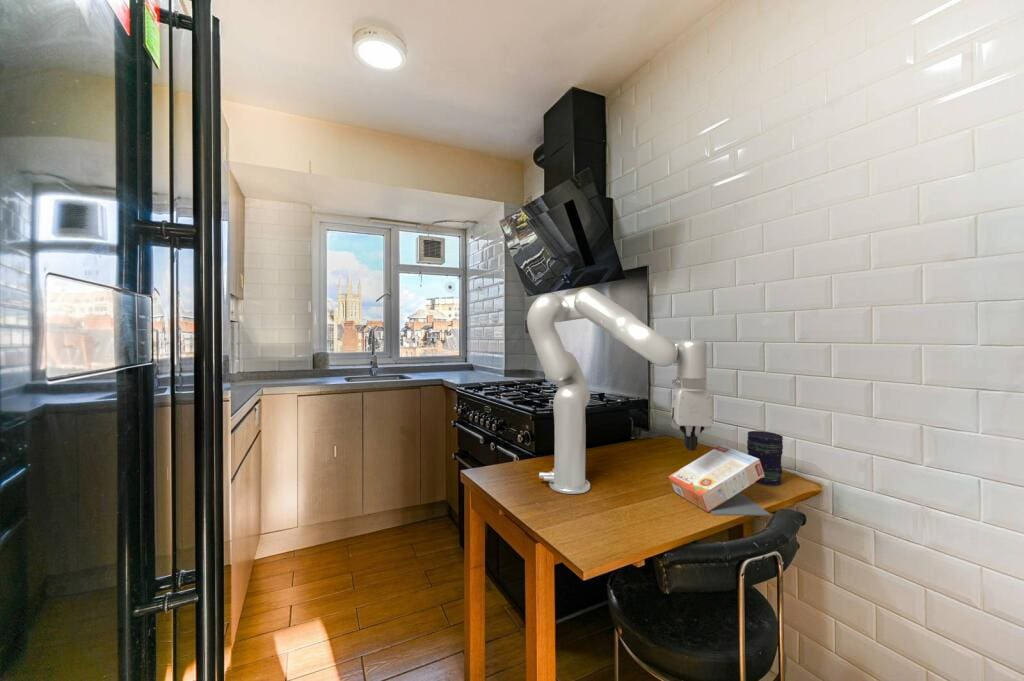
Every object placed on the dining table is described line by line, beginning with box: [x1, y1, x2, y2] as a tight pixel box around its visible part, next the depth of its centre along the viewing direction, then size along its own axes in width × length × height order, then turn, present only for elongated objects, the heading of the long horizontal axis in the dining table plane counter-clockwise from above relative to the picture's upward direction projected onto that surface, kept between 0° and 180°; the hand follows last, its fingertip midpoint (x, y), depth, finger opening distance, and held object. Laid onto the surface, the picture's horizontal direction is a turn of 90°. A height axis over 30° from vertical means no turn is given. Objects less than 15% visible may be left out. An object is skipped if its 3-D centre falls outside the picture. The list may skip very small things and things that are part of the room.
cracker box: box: [668, 444, 765, 513], centre depth 115 cm, size 14×6×21 cm
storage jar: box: [746, 430, 784, 487], centre depth 130 cm, size 10×10×15 cm
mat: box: [709, 491, 771, 517], centre depth 113 cm, size 15×14×1 cm
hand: (690, 449), depth 112 cm, fingers closed
